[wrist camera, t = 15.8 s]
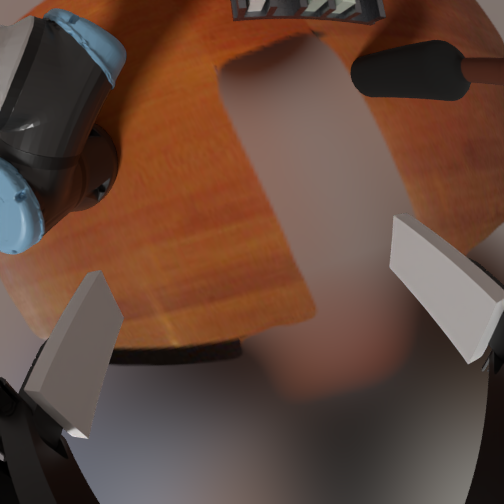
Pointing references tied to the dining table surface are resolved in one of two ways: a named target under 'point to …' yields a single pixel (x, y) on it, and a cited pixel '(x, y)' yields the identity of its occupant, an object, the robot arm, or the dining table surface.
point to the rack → (295, 3)
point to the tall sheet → (254, 5)
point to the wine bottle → (423, 72)
